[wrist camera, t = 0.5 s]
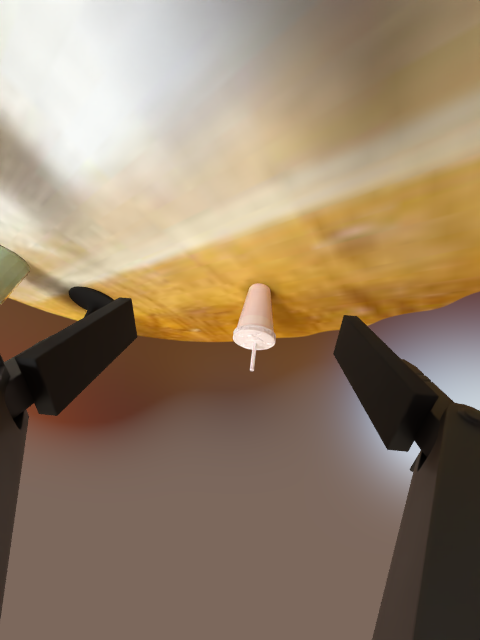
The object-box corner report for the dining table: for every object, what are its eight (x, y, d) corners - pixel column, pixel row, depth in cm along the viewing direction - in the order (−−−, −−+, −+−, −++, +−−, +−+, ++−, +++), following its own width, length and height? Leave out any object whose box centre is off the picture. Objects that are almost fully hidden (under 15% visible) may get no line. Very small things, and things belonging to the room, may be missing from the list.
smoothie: (248, 304, 42) (238, 376, 34) (235, 281, 37) (219, 360, 29) (282, 299, 39) (279, 377, 32) (272, 274, 34) (266, 359, 27)
